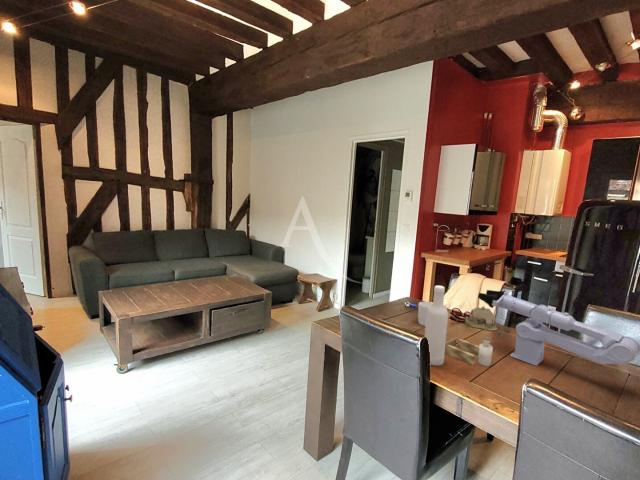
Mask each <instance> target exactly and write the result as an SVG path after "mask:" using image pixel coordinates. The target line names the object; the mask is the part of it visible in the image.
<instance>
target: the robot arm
mask: <svg viewBox="0 0 640 480" xmlns="http://www.w3.org/2000/svg"><path fill="white" fill-rule="evenodd" d="M477 298H478V299H479V300H481V301H483V302H484V303H486V305H487V306H489V308H491V309H493V308H494V307H496V308H497V307H499V308H501V309H504V310H505V309H506V310H507V311H511V312H514V313H516V314H519V315H522V316H525V317H527V318H526V319H525V320H523V321H522V322H519V323H518V324H517V325H516V326H515V333H516V340H515V346H514V352H512V353H511V354H510V357H511V358H515V359H517V360H519V361H523V362H525V363H528V364H531V365H533V366H535V367H536V366H538V365H539V364H541V363H542V361H543V360H544V354H545V353H544V352H545V346H546V345H545V343H547V344H549V345H552V346H555V347H558V348H559V349H563V350H564V351H568V352H570V353H572V354H575V355H577V356H580V357H582V358H585V359H588V360H589V361H593V362H595V363H597V364H600V365H609V364H610V365H622V366H624V365H626V364H629V363H631V362H633V361H634V360H635V359H636V355H637V354H638V352H639V351H640V345H639V342H638V341H637V340H635V339H634V338H633V337H631V336H628V335H627V336H626V335H624V334H621V333H620V332H616V331H612V330H608V329H604V328H601V327H597V326H595V325H591V324H587V323H584V322H580V321H577V320H576V319H575V318H574V317H573V316H572V315H570V313H568V312H565V311H564V312H560V311H557V310H555V309H553V308H552V307H548V306H547V305H545V304H539V305H538V304H535V303H533V302H530V301H527V300H524V299H521V298H517V297H515V296H512V295H510V294H508V291H506V290H499V291H498V290H492V289H491V290H490V289H487V290H486V292H485V293H483V292H479V293H478V295H477ZM544 323H545V324H544ZM546 324H547V325H550V326H552V327H555V328H558V329H560V330H564V331H566V332H569V331H571V330H572V331H575V332H578V333H580V334H583V335H585V336H587V337H588V336H589V337H590V338H593V339H596V340H598V341H599V342H600V343H601V345H602V346H597V345H594V344H592V343H588V342H586V341H583V340H581V339H578V338H575V337H573V336H569V335H567V334H564V333H562V332H559V331H555V330H554V329H551V328H549V327H548V326H547V325H546Z"/></svg>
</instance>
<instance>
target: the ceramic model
mask: <svg viewBox="0 0 640 480" xmlns="http://www.w3.org/2000/svg"><path fill="white" fill-rule="evenodd" d="M464 319H465V320H464V321H465V324H466V325H467V326H469V327H472V328H476V329H482V330H486V331H491V332H492V331H494V332H495V331H497V330H498V327H497V325H496V324H494V322H495V321H496V316H495V314H494V313H493V312H492V311H491V309H490V308H486V307H485V306H481V307H475V308H472V309H471V311H470V315H469V316H466V317H465V318H464Z"/></svg>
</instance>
